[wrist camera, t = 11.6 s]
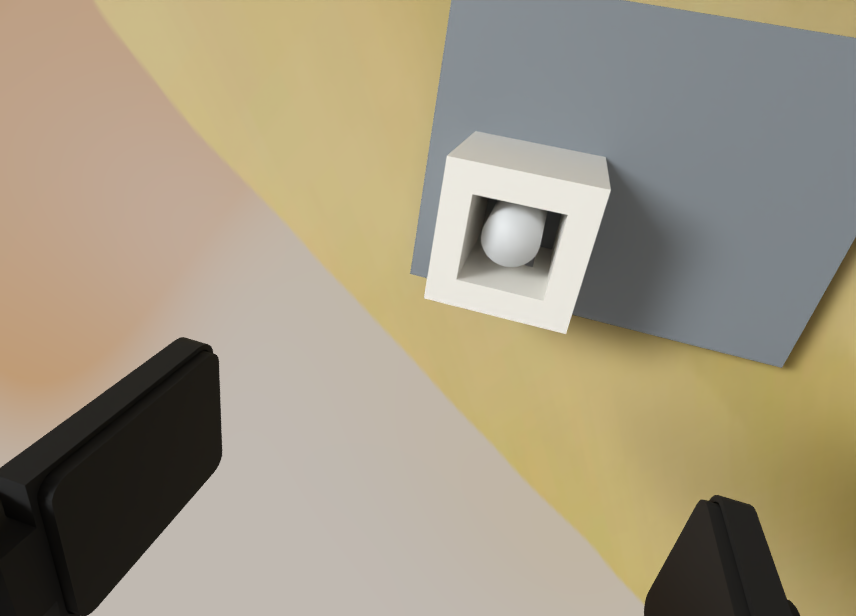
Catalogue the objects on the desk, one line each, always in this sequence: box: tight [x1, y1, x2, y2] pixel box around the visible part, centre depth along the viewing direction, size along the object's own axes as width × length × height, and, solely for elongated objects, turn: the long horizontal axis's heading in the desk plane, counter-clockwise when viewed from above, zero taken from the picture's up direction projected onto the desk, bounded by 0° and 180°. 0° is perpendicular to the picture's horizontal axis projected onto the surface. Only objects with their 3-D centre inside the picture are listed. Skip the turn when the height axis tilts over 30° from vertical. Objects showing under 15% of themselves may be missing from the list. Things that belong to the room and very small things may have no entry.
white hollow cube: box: [424, 131, 611, 334], centre depth 24 cm, size 6×6×6 cm
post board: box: [410, 0, 856, 368], centre depth 23 cm, size 14×19×6 cm
